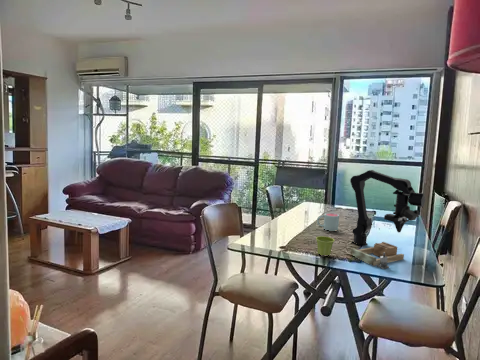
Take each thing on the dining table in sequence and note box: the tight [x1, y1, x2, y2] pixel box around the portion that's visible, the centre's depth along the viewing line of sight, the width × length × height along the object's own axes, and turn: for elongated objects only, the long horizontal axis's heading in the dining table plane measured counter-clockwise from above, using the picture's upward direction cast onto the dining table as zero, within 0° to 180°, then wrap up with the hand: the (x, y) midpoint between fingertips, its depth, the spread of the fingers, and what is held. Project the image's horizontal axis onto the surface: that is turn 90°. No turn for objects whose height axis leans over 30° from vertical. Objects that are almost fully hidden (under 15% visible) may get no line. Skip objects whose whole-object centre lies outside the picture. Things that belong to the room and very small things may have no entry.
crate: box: [372, 241, 398, 258], centre depth 190 cm, size 8×8×6 cm
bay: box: [350, 246, 405, 267], centre depth 188 cm, size 15×22×4 cm
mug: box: [316, 212, 340, 232], centre depth 236 cm, size 14×9×10 cm
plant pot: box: [315, 235, 335, 256], centre depth 188 cm, size 9×9×9 cm
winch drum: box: [376, 253, 390, 270], centre depth 174 cm, size 4×4×7 cm
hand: (398, 232), depth 194 cm, fingers closed
